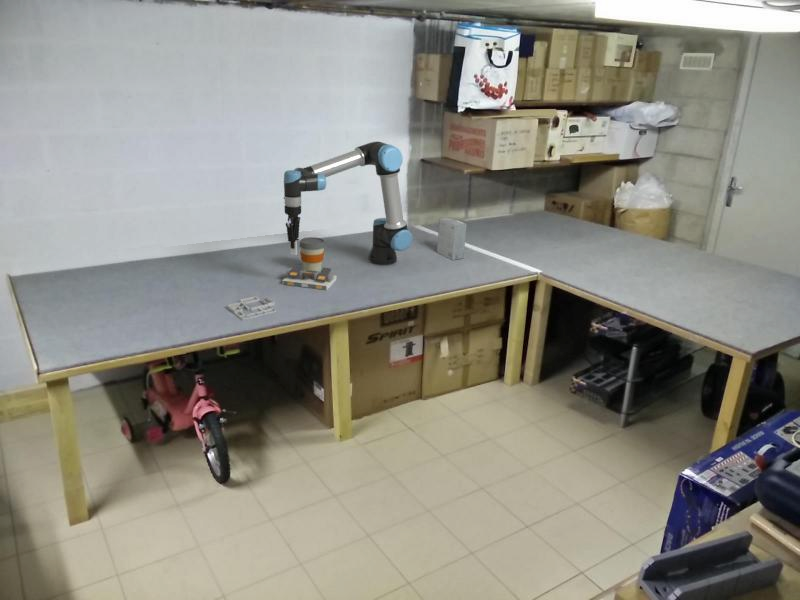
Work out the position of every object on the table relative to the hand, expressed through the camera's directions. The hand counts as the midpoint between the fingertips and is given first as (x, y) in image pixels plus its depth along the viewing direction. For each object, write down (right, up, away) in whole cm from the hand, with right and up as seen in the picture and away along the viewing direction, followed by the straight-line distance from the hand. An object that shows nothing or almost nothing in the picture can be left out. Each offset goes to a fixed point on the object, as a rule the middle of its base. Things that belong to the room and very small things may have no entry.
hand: (293, 254), depth 293 cm
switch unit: (+7, -13, +8) cm, 16 cm away
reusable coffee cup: (+5, -6, +25) cm, 26 cm away
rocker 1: (0, -8, +7) cm, 11 cm away
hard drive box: (+78, +3, +57) cm, 97 cm away
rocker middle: (+7, -9, +6) cm, 13 cm away
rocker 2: (+14, -9, +5) cm, 17 cm away
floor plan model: (-15, -25, -22) cm, 37 cm away
